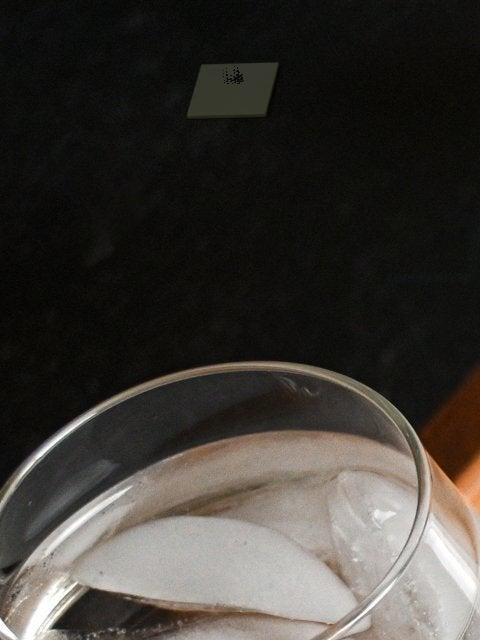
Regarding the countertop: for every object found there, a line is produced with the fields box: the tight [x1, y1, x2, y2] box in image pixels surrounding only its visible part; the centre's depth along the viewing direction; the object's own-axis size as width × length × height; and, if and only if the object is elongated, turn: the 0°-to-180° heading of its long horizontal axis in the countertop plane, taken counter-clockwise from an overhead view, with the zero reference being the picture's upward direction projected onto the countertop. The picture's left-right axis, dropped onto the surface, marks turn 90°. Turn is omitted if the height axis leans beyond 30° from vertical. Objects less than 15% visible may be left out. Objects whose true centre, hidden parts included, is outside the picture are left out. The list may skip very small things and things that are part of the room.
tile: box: [186, 62, 280, 120], centre depth 146 cm, size 6×6×1 cm
